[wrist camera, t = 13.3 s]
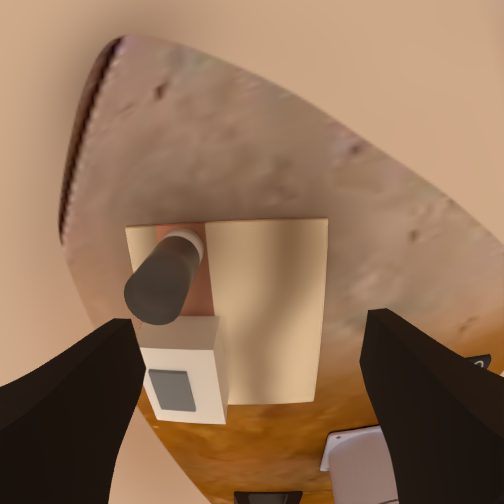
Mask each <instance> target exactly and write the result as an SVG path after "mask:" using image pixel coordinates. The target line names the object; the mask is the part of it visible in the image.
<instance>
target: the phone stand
mask: <svg viewBox="0 0 504 504" xmlns="http://www.w3.org/2000/svg"><path fill="white" fill-rule="evenodd" d="M302 494H303V492H301V491H293V492H270V493H267V492H238V491H236V492H234V504H299V503H300V500H301V497H302Z"/></svg>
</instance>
